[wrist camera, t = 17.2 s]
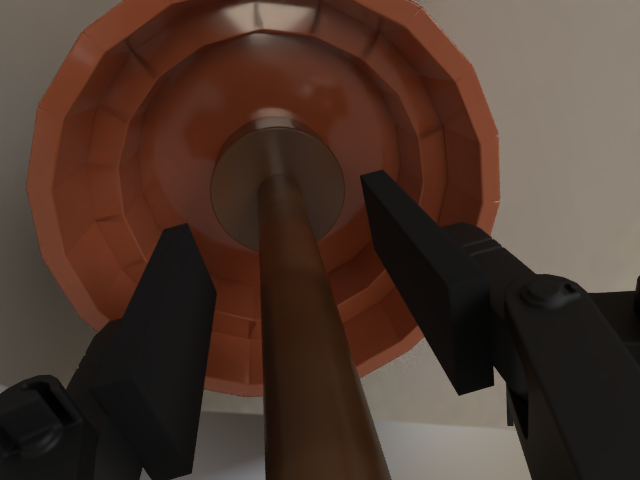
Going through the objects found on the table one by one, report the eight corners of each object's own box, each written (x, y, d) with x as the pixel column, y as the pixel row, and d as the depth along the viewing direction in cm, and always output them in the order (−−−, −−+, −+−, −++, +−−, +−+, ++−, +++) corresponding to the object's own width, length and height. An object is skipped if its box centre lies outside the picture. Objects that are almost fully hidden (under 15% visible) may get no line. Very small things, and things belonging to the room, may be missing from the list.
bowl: (180, 337, 23) (155, 437, 17) (29, 40, 16) (-98, 40, 10) (442, 263, 23) (504, 337, 18) (408, -58, 16) (493, -112, 11)
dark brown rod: (237, 245, 20) (174, 1081, 4) (196, 134, 18) (-431, 1200, 1) (345, 215, 21) (709, 903, 4) (320, 101, 18) (1003, 731, 2)
